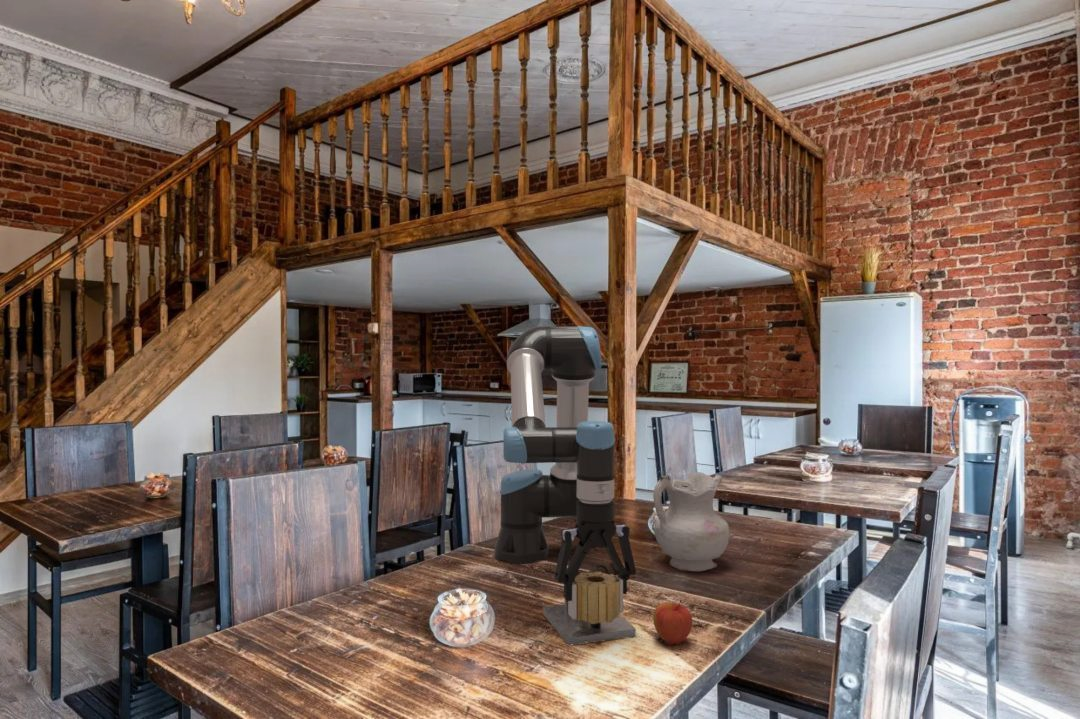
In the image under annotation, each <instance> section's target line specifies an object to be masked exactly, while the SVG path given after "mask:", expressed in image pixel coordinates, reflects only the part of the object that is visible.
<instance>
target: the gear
mask: <svg viewBox="0 0 1080 719" xmlns="http://www.w3.org/2000/svg"><path fill="white" fill-rule="evenodd" d="M616 576H617V575H616ZM616 576H615V575H613V574H610V575H609V574H605V573H601V572H591V573H585V572H583V573H580V575H578V576H576V577H575V579H574V581H573V582H574V583H575V584H576V585H577V620H578V621H580V620H583V621H586V622H590V624H596V623H604V622H607V623H611V622H613V619H615V618H619V614H620V613H619V580H616V578H615V577H616Z"/></svg>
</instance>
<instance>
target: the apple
mask: <svg viewBox="0 0 1080 719" xmlns="http://www.w3.org/2000/svg"><path fill="white" fill-rule="evenodd" d="M681 603H682V600H681V599H680V600H679V603H676V602H664V603H660V604H659V605H657V606H656V607H655V609H654V612H653V617H652V618H653V625H654V628H655V632H656V633H657V634H658V636H659V637H660V638H661V639H662V640H664V641H665V642H667V643H668V644H670V645H672V644H675V645H677V644H678V645H679V644H680V643H682V642H683V641H685V640H686V639H687V638H688V637H689V635H690V633H691V630H692V627H693V616H692V613H691V612H690V611H691V610H689V609H688V608H687V607H685V606H684V605H682V604H681Z"/></svg>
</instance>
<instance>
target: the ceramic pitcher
mask: <svg viewBox="0 0 1080 719" xmlns="http://www.w3.org/2000/svg"><path fill="white" fill-rule="evenodd" d="M723 477H724V476H723V475H720V474H717V473H716V474H715V476H714V477H712V476H711V475H709V474H706V473H704V472H701V471H698V472H694V473H691V474H690V475H689V476H688V477H687V478H686V479H685V480H681V479H680V480H679V479H676V478H673V479H672V480H671V475H668V474H666V475H665V474H663V475H661V476H660V477H659V480H658V482H657V483H656V484H655V485H654V489H653V495H652V496H653V503H654V504H653V506H654V509H655V512H656V515H657V519H656V520H655V522H654V527H653V528H654V529H653V530H654V537H655V539H656V542H657V543H658V545H659V547H660V548H661V549H662V551H663V552H664V553H665V555H667V556H669V557H671V559H670V561H669V566H671V567H673V568H676V569H677V570H680V571H688V572H698V573H700V572H704V571H707V570H712V569H714V568H717V566H718V563H717V562H715V561H714V562H713V560H714V559H718V558H720V556H721V555H723V554H724V553H725V550H726V549H727V546H728V544H729V541H730V527H729V523H728V522H727V521H726V520H725V519H724V518H723V517H722V516H720V514H718V513H717V512H716V511H715V509H714V498H715V495H716V493H717V490H718V487H719V485H720V484H721V483H722V481H723ZM664 490H665V491H666V493H667V495H668V499H669V506H668V508H667V509H666V511H665V510H664V507H663V504H662V500H663V499H662V496H663V491H664Z"/></svg>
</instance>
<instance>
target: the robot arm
mask: <svg viewBox="0 0 1080 719" xmlns="http://www.w3.org/2000/svg"><path fill="white" fill-rule="evenodd" d="M601 352H602V351H601V345H600V340H599V336H598V332H597V330H596V329H595V328H594V327H591V326H581V325H569V326H568V325H564V326H563V325H562V326H561V325H560V326H558V325H557V326H545V325H543V326H542V325H541V326H535V327H532V328H529V329H528V330H526V331H524V332H522V333H521V334H520V335H519V336H518V337H517V338H516V339H515V340H514V341H513V342H512V344H511V345H510V347H509V349H508V352H507V357H506V368H507V371H508V372H509V374H510V377H511V378H510V388H511V389H510V391H511V392H510V393H511V394H510V397H511V398H510V400H511V427H506V428H504V430H503V440H502V441H503V445H502V446H503V447H502V448H503V453H502V454H503V460H504V461H505V462H507V463H510V464H514V463H516V464H523V465H524V464H539V463H540V464H541V463H543V464H544V463H545V464H547V463H552V464H553V463H555V464H553V465H552V466H551V467H550V470H549V475H546V474H545V475H543V471H542V470H541V469H522V470H517V471H514V472H513V471H512V472H509V473H507V474H505V475H504V476H503V477H502V478H501V480H500V481H501V482H500V490H499V493H500V494H499V495H500V528H499V532H498V535H497V538H496V542H495V545H494V551H493V552H494V557H495V558H496V559H497V560H500V561H502V562H507V563H515V564H525V563H526V564H528V563H535V562H540V561H543V560H545V559H546V558H548V556H549V544H548V542H547V540H546V536H545V533H544V530H543V518H545V519H546V518H575V519H577V523H576V525H575V527H574V528H571V529H566V528H562V529H561V531H560V533H561V544H560V549H559V553H558V558H557V563H556V566H555V570H554V574H553V575H554V579H555V580H556V581H557V582H558V583H560V584H561V583H562V584H563V598H564V600H565V599H566V601H568V614H569V615H570V617H571V618H572V619H577V585H576V584H575V583H574V582H573V581H574V579H575V577H576V575H577V573H578V570H580V568H581V566H582V564H583V561H584V560H585V557H586V555H587V554H588V553H589V551H590V549H591V550H592V549H596V548H600V549H602V548H604V549H605V551H606V553H607V556H608V557H609V559H610V562H611V563H613V565H614V567H615V569H616V571H617V573H618V574H617V575H616V577H615V578H616V580H619V614H623V613H624V595H626V594H627V592H628V580H629V579H630V576H634V575H636V573H637V570H636V565H635V562H634V557H633V552H632V546H631V543H630V538H629V536H630V527H629V526H627V525H625V524H623V523H620V524H619V525H618V524H617V525H616V524H615V517H616V516H615V515H616V514H615V512H616V511H615V505H616V504H615V501H614V500H613V499H615V443H616V437H615V428H614V424H612V423H611V422H608V421H603V420H602V421H601V420H599V421H597V420H596V421H595V420H590V421H589V419H588V418H589V396H590V395H589V394H590V392H589V390H590V389H589V388H590V385H589V384H590V382H592V381H593V380H594V378H595V377H596V372H598V371H599V370H601V369H602V353H601ZM544 370H545V371H551V377H552V378H553V379H554V380H555V381H556V387H557V388H556V427H554V426H552V427H550V426H548V427H547V426H546V415H545V414H546V413H545V403H544V391H543V379H542V372H543V371H544ZM615 533H616V536H617V537H618V542H619V546H620V551H621V555H622V561H623V562H622V561H621V559H620V556H619V553H618V552H617V550H616V547H615V545H614V543H613V541H612V538H613V536H614V535H615ZM576 535H577V536H578V537H579V538H578V537H577V538H578V539H579V540H578V541H577V543H576V546H575V547H576V549H575V551H574V553H573V555H572V557H571V559H570V555H571V550H572V546H573V545H572V544H573V541H574V540H575V537H576ZM569 559H570V561H569Z"/></svg>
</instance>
